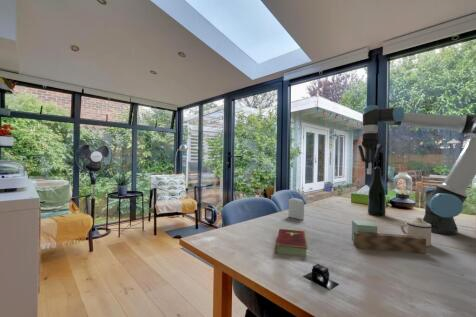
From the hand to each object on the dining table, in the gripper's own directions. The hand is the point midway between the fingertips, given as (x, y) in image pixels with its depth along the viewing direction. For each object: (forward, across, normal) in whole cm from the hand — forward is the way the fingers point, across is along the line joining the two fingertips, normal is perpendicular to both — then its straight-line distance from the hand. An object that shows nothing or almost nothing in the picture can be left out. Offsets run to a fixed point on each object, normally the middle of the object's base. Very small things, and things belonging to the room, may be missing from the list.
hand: (369, 174), depth 131 cm
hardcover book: (+30, +44, +42) cm, 68 cm away
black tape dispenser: (+30, +36, +70) cm, 84 cm away
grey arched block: (+30, +40, -5) cm, 50 cm away
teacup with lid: (+30, -12, +24) cm, 40 cm away
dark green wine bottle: (+30, -15, -30) cm, 45 cm away
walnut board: (+29, +4, +36) cm, 47 cm away
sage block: (+30, +12, +31) cm, 44 cm away
